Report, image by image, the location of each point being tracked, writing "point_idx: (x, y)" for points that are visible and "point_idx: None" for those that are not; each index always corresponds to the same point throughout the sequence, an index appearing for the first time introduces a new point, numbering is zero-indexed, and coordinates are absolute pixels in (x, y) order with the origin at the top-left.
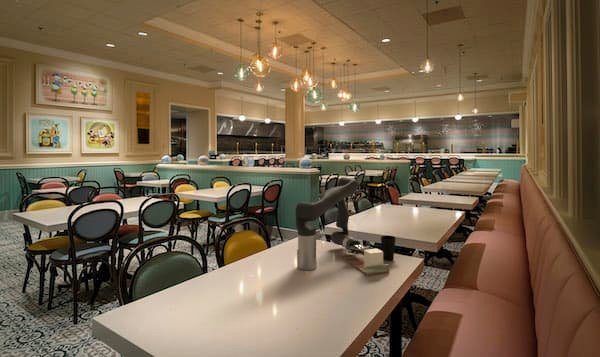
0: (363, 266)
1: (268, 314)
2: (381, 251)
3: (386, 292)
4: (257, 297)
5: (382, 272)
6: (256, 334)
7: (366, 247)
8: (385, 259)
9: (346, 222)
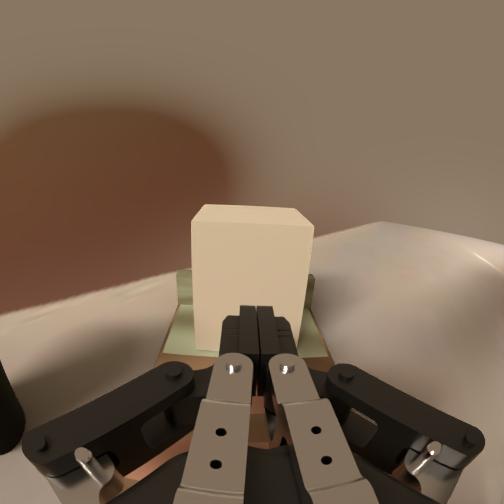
0: None
1: (482, 255)
2: (209, 206)
3: None
4: None
5: None
6: (467, 242)
7: (138, 402)
8: (21, 415)
9: None
